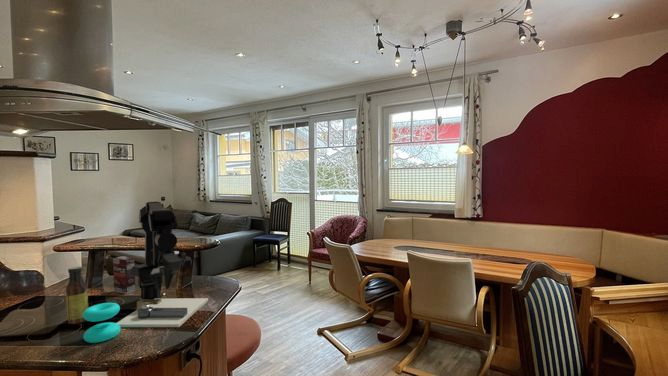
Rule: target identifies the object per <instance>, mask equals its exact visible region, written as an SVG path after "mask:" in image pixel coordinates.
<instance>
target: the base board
mask: <svg viewBox="0 0 668 376" xmlns="http://www.w3.org/2000/svg"><path fill="white" fill-rule="evenodd" d="M161 299H162V302H160V303H159V304H155V305H149V307H153V309H154V308H187V315H186V316H185V317H149V318H144V319H140V318H138V312H137V309H136V310H135V311H133V312H131V313H130V314H128V315H127V316H125V317H123V318H122V319H120V320H119V321H117V322H116V323H117V324H118V325H119V326H120V328H180V327H181V326H182V325H183V324H185V322H186V321H188V320H189V319H190V317H192V316H193V315H194V314H195V313H196V312H197V311H198V310H200V309H201V308H202V307H203V306H204V305H205V304H206V303H207V302H208V301H209V298H208V297H205V298H204V297H201V298H197V297H196V298H194V297H193V298H191V297H190V298H189V297H188V298H185V297H183V298H161Z"/></svg>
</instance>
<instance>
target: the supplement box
mask: <svg viewBox="0 0 668 376" xmlns="http://www.w3.org/2000/svg"><path fill="white" fill-rule="evenodd" d="M135 260H136V259H135V257H131V256H118V257H114V258H112V265H113V266H112V268H113V270H112V271H113V273H112V274H113V292H114V293H119V294H124V295H127V294H130V293H134V292H136V276H134V275H131V269H132V267H133V266H136V265H135V264H136V261H135Z"/></svg>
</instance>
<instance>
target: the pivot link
mask: <svg viewBox="0 0 668 376" xmlns="http://www.w3.org/2000/svg"><path fill="white" fill-rule="evenodd" d="M186 315H187V308H154V309H153V307H149V304H145V305H142V308H141V309H139V310H138V318H140V319H144V318H149V317H185V316H186Z"/></svg>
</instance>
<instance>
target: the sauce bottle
mask: <svg viewBox="0 0 668 376" xmlns="http://www.w3.org/2000/svg"><path fill="white" fill-rule="evenodd" d="M67 272H68V276H69V277H68V278H69V281H68V283H67V284H66V288H65V293H66V295H65V299H66V315H67V322H68V324H70V325H78V324H82V323H84V322H87V320H85V319H84V318H83V312H84V311H85V310H86V309H87V308H89V307H90V306H89V295H88V286H87V284H86V282H85V281H84V278H83V266H73V267H69V268H68V269H67Z"/></svg>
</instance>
